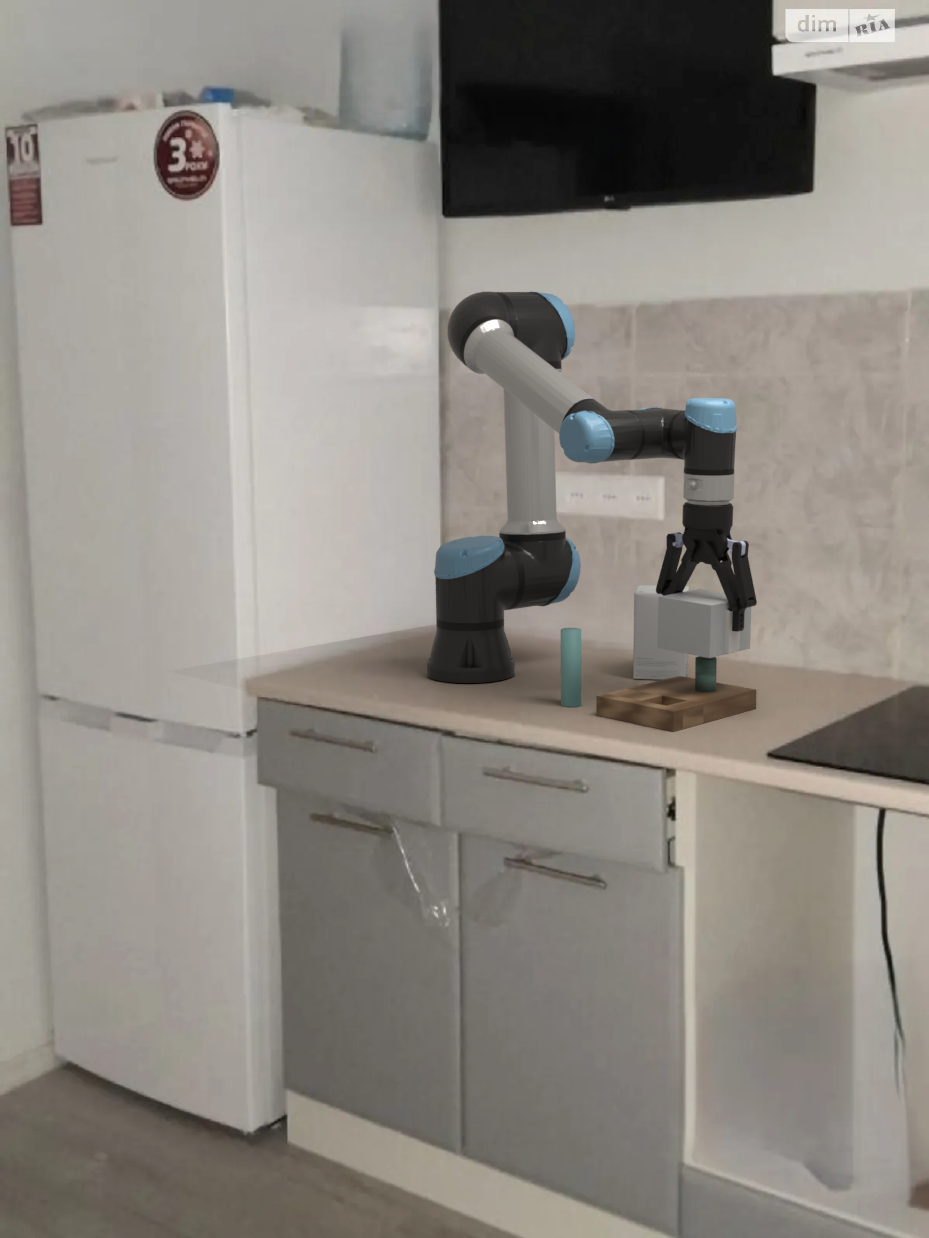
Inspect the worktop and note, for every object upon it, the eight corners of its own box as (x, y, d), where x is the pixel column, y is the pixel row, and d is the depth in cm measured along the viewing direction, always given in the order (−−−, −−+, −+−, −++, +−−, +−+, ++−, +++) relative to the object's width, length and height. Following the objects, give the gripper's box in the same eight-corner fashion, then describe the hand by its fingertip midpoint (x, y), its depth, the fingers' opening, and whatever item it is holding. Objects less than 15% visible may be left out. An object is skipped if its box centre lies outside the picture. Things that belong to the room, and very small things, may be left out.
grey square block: (657, 647, 234) (658, 596, 232) (697, 638, 240) (699, 588, 239) (709, 658, 226) (711, 605, 225) (749, 648, 233) (751, 597, 232)
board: (596, 715, 232) (596, 663, 230) (679, 693, 245) (679, 645, 244) (673, 731, 221) (674, 677, 219) (756, 708, 234) (757, 657, 233)
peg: (556, 705, 239) (556, 629, 237) (570, 701, 241) (570, 627, 239) (571, 708, 236) (571, 632, 234) (585, 704, 239) (585, 629, 237)
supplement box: (686, 681, 254) (687, 593, 252) (632, 680, 256) (632, 592, 254) (689, 670, 263) (690, 584, 261) (637, 669, 265) (637, 584, 262)
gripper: (634, 497, 235) (631, 638, 239) (755, 510, 218) (749, 661, 223) (665, 493, 240) (661, 632, 244) (785, 506, 224) (779, 654, 228)
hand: (703, 646), depth 233 cm, fingers closed on grey square block, 10 cm apart
